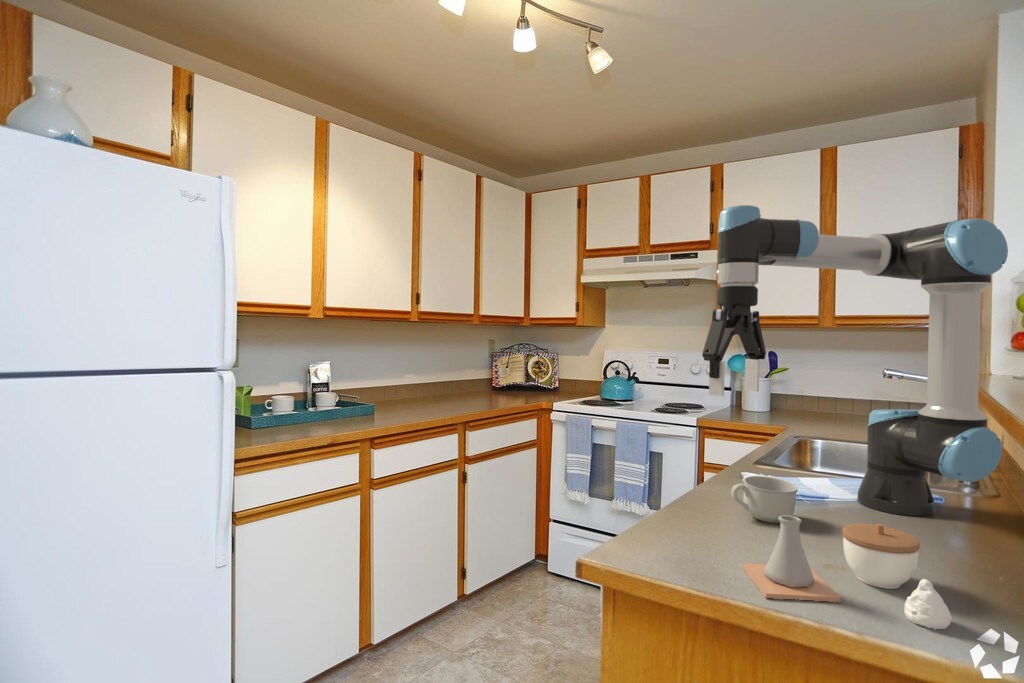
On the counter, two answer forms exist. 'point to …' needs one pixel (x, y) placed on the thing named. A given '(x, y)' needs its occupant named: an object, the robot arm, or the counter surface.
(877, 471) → the robot arm
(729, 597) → the counter surface
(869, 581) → the lidded jar
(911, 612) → the garlic bulb
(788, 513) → the teacup
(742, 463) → the counter surface
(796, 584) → the flask
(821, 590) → the coaster
